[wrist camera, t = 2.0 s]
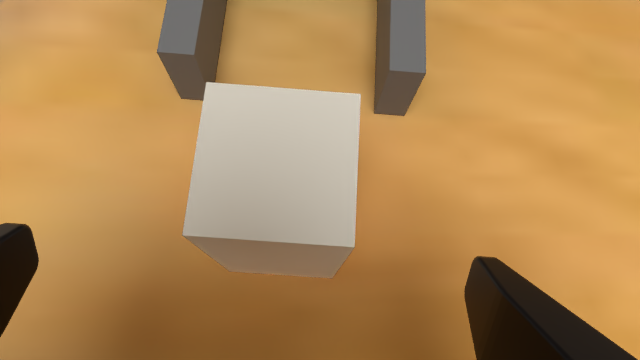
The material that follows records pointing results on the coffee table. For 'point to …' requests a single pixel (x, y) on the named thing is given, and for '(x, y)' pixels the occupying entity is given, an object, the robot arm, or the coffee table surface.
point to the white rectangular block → (275, 179)
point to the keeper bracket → (206, 31)
